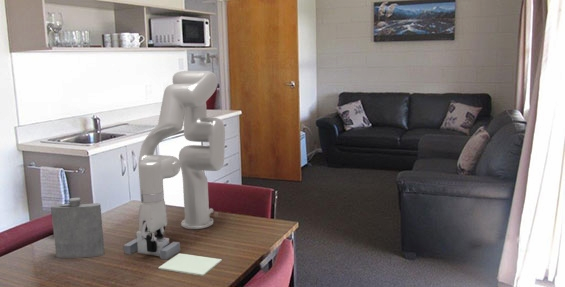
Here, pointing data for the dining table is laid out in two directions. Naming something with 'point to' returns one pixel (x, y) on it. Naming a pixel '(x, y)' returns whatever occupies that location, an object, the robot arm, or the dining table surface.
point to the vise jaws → (164, 253)
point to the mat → (190, 264)
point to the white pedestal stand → (159, 241)
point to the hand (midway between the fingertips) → (155, 248)
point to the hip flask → (77, 229)
